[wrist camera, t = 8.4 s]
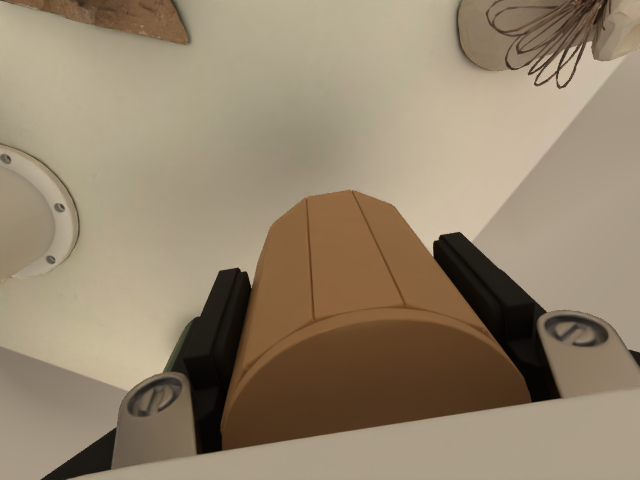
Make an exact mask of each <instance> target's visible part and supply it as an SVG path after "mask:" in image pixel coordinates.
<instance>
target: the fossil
mask: <svg viewBox="0 0 640 480" xmlns="http://www.w3.org/2000/svg"><path fill="white" fill-rule="evenodd" d="M1 1H5V2H10V3H14V4H19V5H23V6H27V7H31V8H35V9H39V10H43V11H47V12H52V13H57V14H61V15H64V16H65V17H66V18H67V19H71V20H75V21H79V22H82V23H87V24H91V25H95V26H100V27H105V28H109V29H115V30H120V31H126V32H130V33H135V34H139V35H145V36H150V37H154V38H159V39H163V40H168V41H171V42H175V43H180V44H187V43H188V36H187V33H186V30H185V29H184V28H183V25H182V23H181V20H180V18H179V16H178V14H177V11H176V9H175V6H174V5H173V3H172V1H171V0H1Z"/></svg>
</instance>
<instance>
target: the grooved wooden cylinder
mask: <svg viewBox="0 0 640 480" xmlns="http://www.w3.org/2000/svg"><path fill="white" fill-rule="evenodd" d="M524 380H525V379H524V377H523V375H522V374H521V373H520V371H519V370H518V369H517V367H516V366H515V365H514V364H513V362H512V361H511V360H510V358H509V357H508V356H507V354H506V353H505V352H504V350H503V349H502V348H501V346H500V345H499V344H498V342H497V341H496V340H495V338H494V337H493V336H492V334H491V333H490V332H489V330H488V329H487V328H486V327H485V325H484V324H483V323H482V321H481V320H480V319H479V317H478V316H477V315H476V313H475V312H474V311H473V309H472V308H471V307H470V305H469V304H468V303H467V301H466V300H465V299H464V297H463V296H462V295H461V293H460V292H459V291H458V289H457V288H456V287H455V285H454V284H453V283H452V282H451V280H450V279H449V278H448V276H447V275H446V274H445V272H444V271H443V270H442V268H441V267H440V266H439V264H438V263H437V262H436V260H435V259H434V258H433V256H432V255H431V254H430V252H429V251H428V250H427V248H426V247H425V246H424V244H423V243H422V242H421V241H420V239H419V238H418V237H417V235H416V234H415V233H414V231H413V230H412V229H411V227H410V226H409V225H408V223H407V222H406V221H405V220H404V218H403V217H402V216H401V214H400V213H399V212H398V210H397V209H396V208H395V206H393V205H392V204H389V203H387V202H384V201H381V200H379V199H376V198H373V197H371V196H368V195H365V194H362V193H360V192H357V191H354V190H352V192H351V190H346V191H340V192H334V193H327V194H321V195H315V196H309V197H307V199H306V198H304V199H303V200H302V201H300V202H299V203H298V204H297V205H295V206H294V207H293V208H292V209H290V210H289V211H288V212H287V213H285V214H284V215H283V216H282V217H280V218H279V219H278V220H277V221H275V222H274V223H273V224H272V226H271V227H270V229H269V232H268V235H267V238H266V240H265V243H264V246H263V249H262V251H261V254H260V257H259V260H258V263H257V267H256V272H255V276H254V280H253V285H252V289H251V293H250V298H249V302H248V307H247V311H246V315H245V320H244V324H243V328H242V333H241V337H240V341H239V346H238V350H237V354H236V359H235V363H234V367H233V372H232V376H231V381H230V385H229V389H228V394H227V398H226V402H225V407H224V411H223V415H222V420H221V424H220V427H221V428H220V432H221V435H222V451H225V450H231V449H237V448H244V447H250V446H256V445H262V444H269V443H275V442H281V441H288V440H294V439H301V438H307V437H314V436H320V435H327V434H333V433H340V432H346V431H353V430H359V429H366V428H372V427H378V426H385V425H391V424H398V423H404V422H411V421H417V420H424V419H430V418H436V417H443V416H449V415H456V414H462V413H469V412H475V411H482V410H488V409H494V408H501V407H507V406H514V405H521V404H527V403H532V402H531V397H530V393H529V391H528V388H527V386H526V382H525V381H524Z"/></svg>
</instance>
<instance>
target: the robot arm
mask: <svg viewBox="0 0 640 480" xmlns="http://www.w3.org/2000/svg"><path fill="white" fill-rule="evenodd" d="M78 226H79V225H78V218H77V212H76V209H75V206H74V203H73V200H72V199H71V197H70V195H69V193H68V191H67V190H66V188H65V187H64V185H63V184H62V183H61V182H60V180H59V179H58V178H57V177H56V176H55V175H54V174H53V173H52V172H51V171H50V170H49V169H48V168H47V167H46V166H45V165H43V164H42V163H40V162H39V161H37V160H36V159H34V158H33V157H31V156H29V155H27V154H25V153H23V152H21V151H19V150H17V149H14V148H10V147H7V146H4V145H0V284H1V283H2V282H4V281H5V280H7V279H8V278H31V277H35V276H39V275H42V274H45V273H47V272H49V271H51V270H53V269H54V268H56V267H57V266H58V265H60V264H61V263H62V262H63V261H64V260H65V259H66V258H67V257H68V256H69V255H70V253H71V252H72V250H73V248H74V247H75V243H76V240H77V237H78ZM433 254H434V259H435V260H436V262H437V263H438V264H439V266H440V267H441V268H442V270H443V271H444V272H445V274H446V275H447V276H448V278H449V279H450V280H451V282H452V283H453V284H454V285H455V287H456V288H457V289H458V291H459V292H460V293H461V295H462V296H463V297H464V299H465V300H466V301H467V303H468V304H469V305H470V307H471V308H472V309H473V311H474V312H475V313H476V315H477V316H478V317H479V319H480V320H481V321H482V323H483V324H484V325H485V327H486V328H487V329H488V330H489V332H490V333H491V334H492V336H493V337H494V338H495V340H496V341H497V342H498V344H499V345H500V346H501V348H502V349H503V350H504V352H505V353H506V354H507V356H508V357H509V358H510V360H511V361H512V362H513V364H514V365H515V366H516V367H517V369H518V370H519V371H520V373H521V374H522V375H523V377H524V379H525V380H524V381H525V382H526V386H527V388H528V391H529V393H530V397H531V402H532V403H527V404H521V405H514V406H507V407H501V408H494V409H488V410H482V411H475V412H469V413H462V414H456V415H449V416H443V417H436V418H430V419H424V420H417V421H411V422H404V423H398V424H391V425H385V426H378V427H372V428H366V429H359V430H353V431H346V432H340V433H333V434H327V435H320V436H314V437H307V438H301V439H294V440H288V441H281V442H275V443H269V444H262V445H256V446H250V447H244V448H237V449H231V450H225V451H222V435H221V432H220V428H221V427H220V424H221V420H222V415H223V411H224V407H225V402H226V398H227V394H228V389H229V385H230V381H231V376H232V372H233V367H234V363H235V359H236V354H237V350H238V346H239V341H240V337H241V333H242V328H243V324H244V320H245V315H246V311H247V307H248V302H249V298H250V293H251V285H250V281H249V277H248V274H247V272H246V271H245V272H241V271H240V269H239V268H233V269H227V270H221V271H219V273H218V275H217V278H216V280H215V282H214V285H213V287H212V290H211V292H210V294H209V297H208V299H207V301H206V304H205V306H204V309H203V311H202V313H201V316H200V317H196V318H194V320H193V322H192V324H191V326H190V328H189V331H188V333H187V335H186V337H185V340H184V342H183V344H182V346H181V349H180V351H179V353H178V355H177V358H176V360H175V362H174V364H173V367H172V369H171V371H170V372H164V373H160V374H157V375H154V376H152V377H150V378H147V379H145V380H144V381H142V382H141V383H139V384H137V385H136V386H135V387H134V388H133V389H131V390H130V391H129V392H128V393H127V395H126V396H125V397H124V399H123V400H122V403H121V405H120V408H119V414H118V421H117V427H116V428H115V429H113V430H112V431H110V432H109V433H107V434H106V435H104V436H103V437H102V438H100V439H99V440H97V441H96V442H94V443H93V444H92V445H90V446H89V447H87V448H86V449H84V450H83V451H81V452H80V453H78V454H77V455H76V456H74V457H73V458H71V459H70V460H68V461H67V462H65V463H64V464H62V465H61V466H60V467H58V468H57V469H55V470H54V471H52V472H51V473H50V474H48V475H47V476H45V477H44V478H42V479H41V480H640V353H639V352H636V351H632V350H628V349H627V347H626V346H625V344H624V343H623V341H622V340H621V338H620V336H619V335H618V333H617V332H616V330H615V329H614V328H613V327H612V326H611V325H610V324H609V323H607V322H606V321H604V320H602V319H601V318H598V317H596V316H593V315H590V314H588V313H583V312H579V311H571V310H557V311H552V312H548V313H547V312H546V311H545V310H544V309H543V308H542V307H541V306H540V305H539V304H538V303H537V302H535V300H534V299H532V298H531V297H530V296H529V295H528V294H527V293H526V292H525V291H524V290H523V289H522V288H521V287H520V286H518V284H516V283H515V282H514V281H513V280H512V279H511V278H510V277H509V276H508V275H507V274H506V273H505V272H503V271H502V270H501V269H499V268H498V267H497V266H495V265H494V264H493V263H492V262H491V261H490V260H489V259H488V258H487V257H486V256H485V255H484V254H483V253H482V252H481V251H480V250H478V249H477V248H476V247H475V246H474V245H473V244H472V243H471V242H470V241H469V240H468V239H467V238H466V237H465V236H464V235H463V234H462V233H460V232H456V233H450V234H444V235H440V237H439V240H437V241H434V243H433Z"/></svg>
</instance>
